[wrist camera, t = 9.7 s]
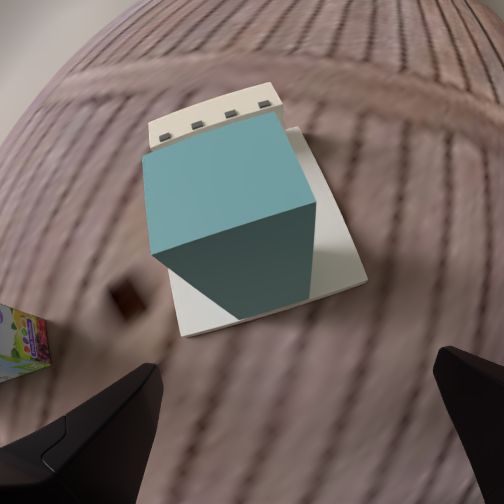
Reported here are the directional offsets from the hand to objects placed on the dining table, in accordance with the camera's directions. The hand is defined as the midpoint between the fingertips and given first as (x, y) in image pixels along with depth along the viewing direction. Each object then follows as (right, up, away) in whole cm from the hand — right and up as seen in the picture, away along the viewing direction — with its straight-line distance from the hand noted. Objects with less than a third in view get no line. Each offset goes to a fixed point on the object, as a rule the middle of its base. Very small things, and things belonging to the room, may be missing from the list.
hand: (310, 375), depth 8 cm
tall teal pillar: (-1, +1, +13) cm, 13 cm away
